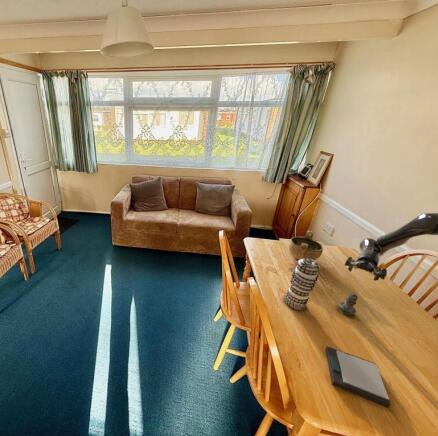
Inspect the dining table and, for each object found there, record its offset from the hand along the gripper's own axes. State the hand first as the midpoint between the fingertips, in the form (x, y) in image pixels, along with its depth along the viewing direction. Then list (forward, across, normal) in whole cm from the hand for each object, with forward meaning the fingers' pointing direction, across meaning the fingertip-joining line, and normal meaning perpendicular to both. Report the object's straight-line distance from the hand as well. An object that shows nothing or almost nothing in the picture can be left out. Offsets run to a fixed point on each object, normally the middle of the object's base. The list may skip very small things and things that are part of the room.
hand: (362, 274), depth 103 cm
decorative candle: (+23, -17, +16) cm, 33 cm away
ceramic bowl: (-22, -27, +16) cm, 39 cm away
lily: (-2, -23, +16) cm, 28 cm away
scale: (+44, +8, +16) cm, 47 cm away
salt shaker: (+11, 0, +16) cm, 20 cm away
